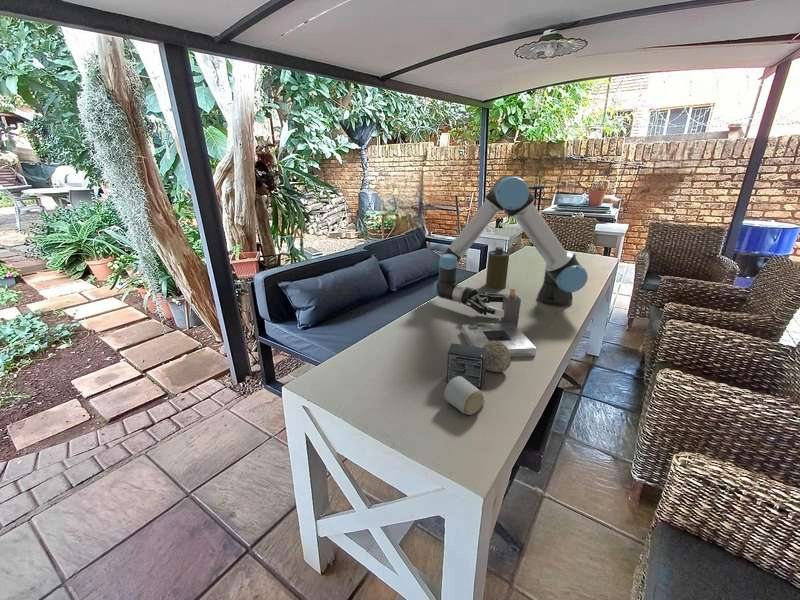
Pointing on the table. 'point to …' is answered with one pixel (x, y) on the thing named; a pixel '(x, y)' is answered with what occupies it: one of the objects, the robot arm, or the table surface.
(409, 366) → the table surface
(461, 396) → the white short cylinder
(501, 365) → the stone
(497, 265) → the canister
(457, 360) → the small box
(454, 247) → the robot arm
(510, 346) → the socket
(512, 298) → the plug
